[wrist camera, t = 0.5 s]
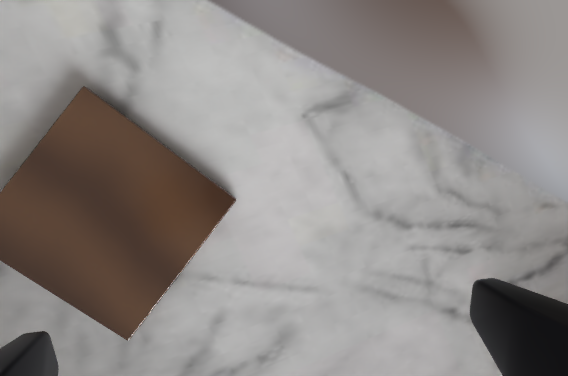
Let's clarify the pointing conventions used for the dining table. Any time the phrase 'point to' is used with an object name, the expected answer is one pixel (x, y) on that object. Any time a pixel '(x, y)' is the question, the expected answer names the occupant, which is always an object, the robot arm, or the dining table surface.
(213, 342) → the dining table surface
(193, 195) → the coaster
